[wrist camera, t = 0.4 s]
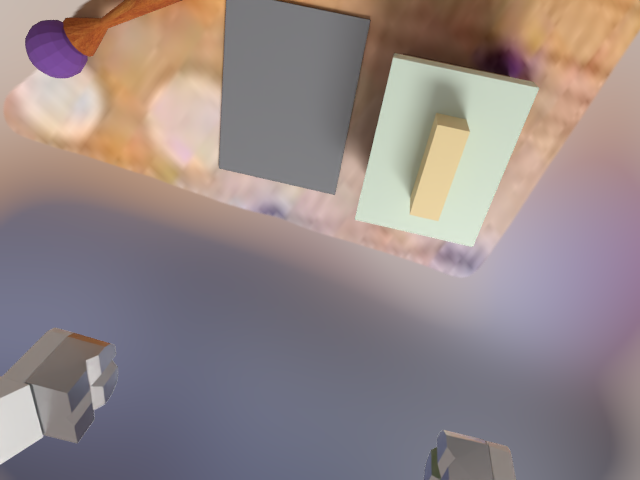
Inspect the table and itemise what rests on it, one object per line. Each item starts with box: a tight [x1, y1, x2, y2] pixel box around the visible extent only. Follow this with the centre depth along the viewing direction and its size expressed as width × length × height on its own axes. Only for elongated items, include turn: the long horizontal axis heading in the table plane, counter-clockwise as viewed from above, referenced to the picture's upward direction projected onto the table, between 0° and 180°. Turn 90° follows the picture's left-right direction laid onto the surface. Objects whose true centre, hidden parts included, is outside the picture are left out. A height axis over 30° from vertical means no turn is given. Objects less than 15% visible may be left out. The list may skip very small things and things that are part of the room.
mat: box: [219, 0, 370, 195], centre depth 52 cm, size 20×15×1 cm
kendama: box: [25, 0, 182, 78], centre depth 49 cm, size 6×6×20 cm
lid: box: [355, 53, 539, 247], centre depth 44 cm, size 17×13×6 cm
